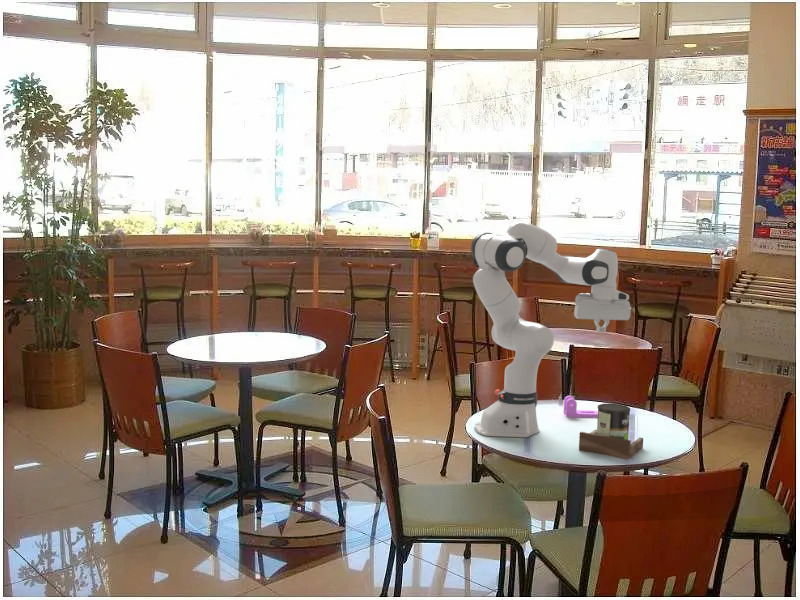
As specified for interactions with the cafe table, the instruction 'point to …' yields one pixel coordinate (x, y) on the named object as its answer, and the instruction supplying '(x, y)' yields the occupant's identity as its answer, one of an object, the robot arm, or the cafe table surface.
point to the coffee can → (613, 420)
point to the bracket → (571, 408)
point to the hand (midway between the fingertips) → (601, 331)
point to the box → (609, 445)
